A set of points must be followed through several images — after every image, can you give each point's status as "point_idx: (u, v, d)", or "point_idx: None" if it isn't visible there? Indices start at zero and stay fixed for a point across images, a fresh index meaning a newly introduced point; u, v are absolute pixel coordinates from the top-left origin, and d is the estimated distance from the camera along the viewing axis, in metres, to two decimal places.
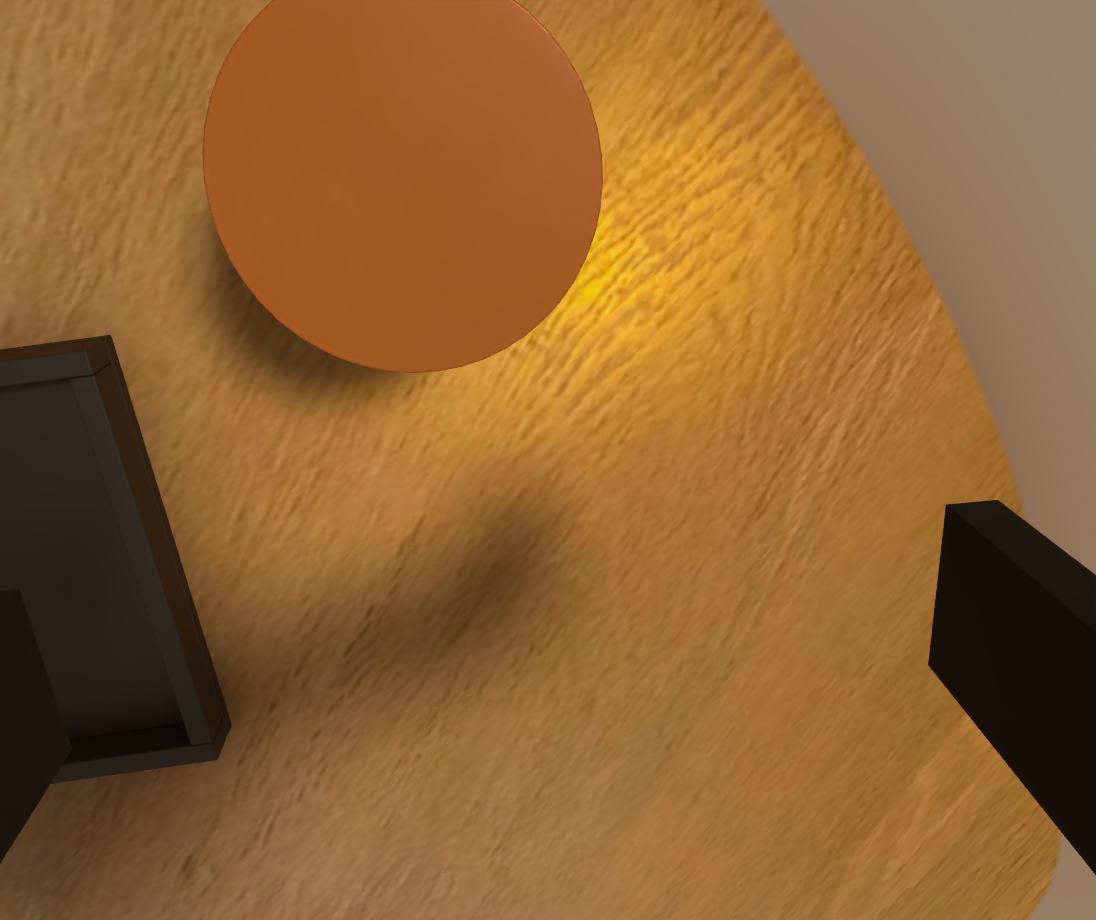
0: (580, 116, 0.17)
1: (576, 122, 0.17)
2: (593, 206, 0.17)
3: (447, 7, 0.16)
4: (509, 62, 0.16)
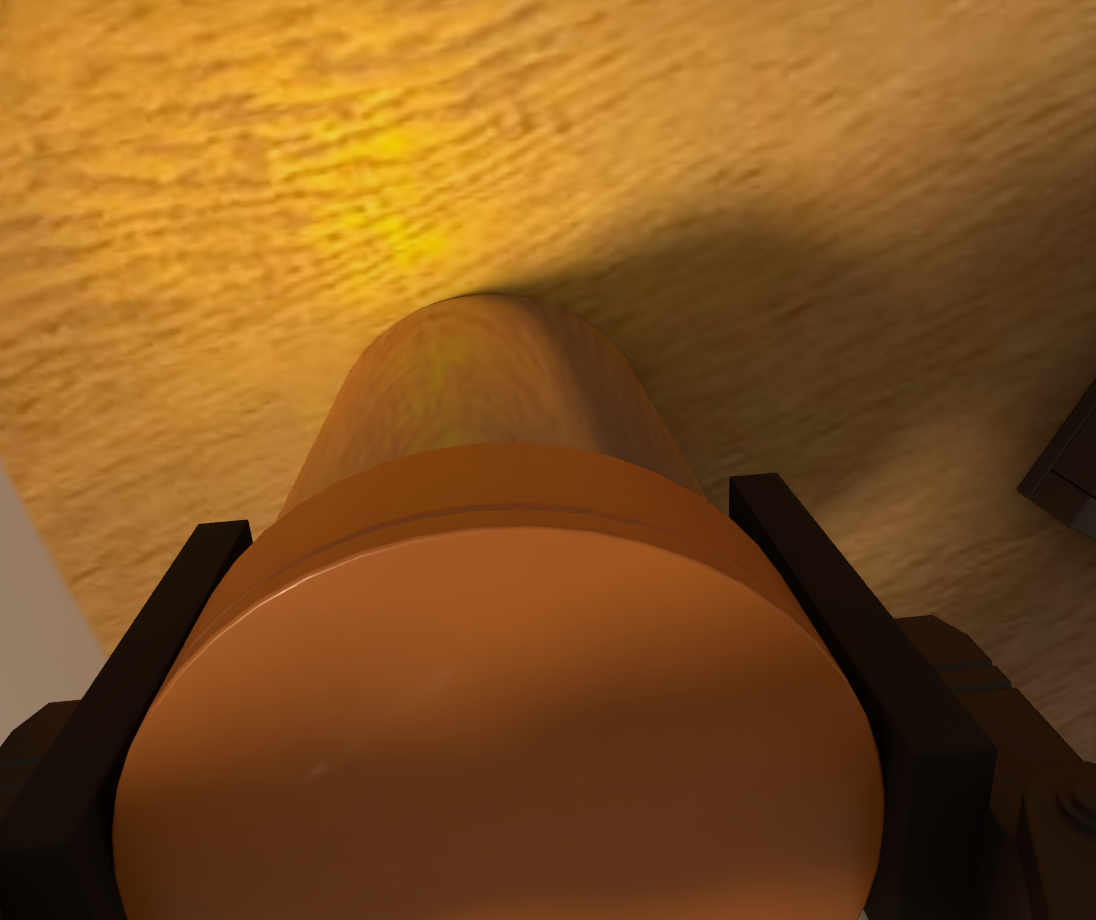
0: (138, 826, 0.08)
1: (152, 819, 0.08)
2: (187, 684, 0.08)
3: None
4: None
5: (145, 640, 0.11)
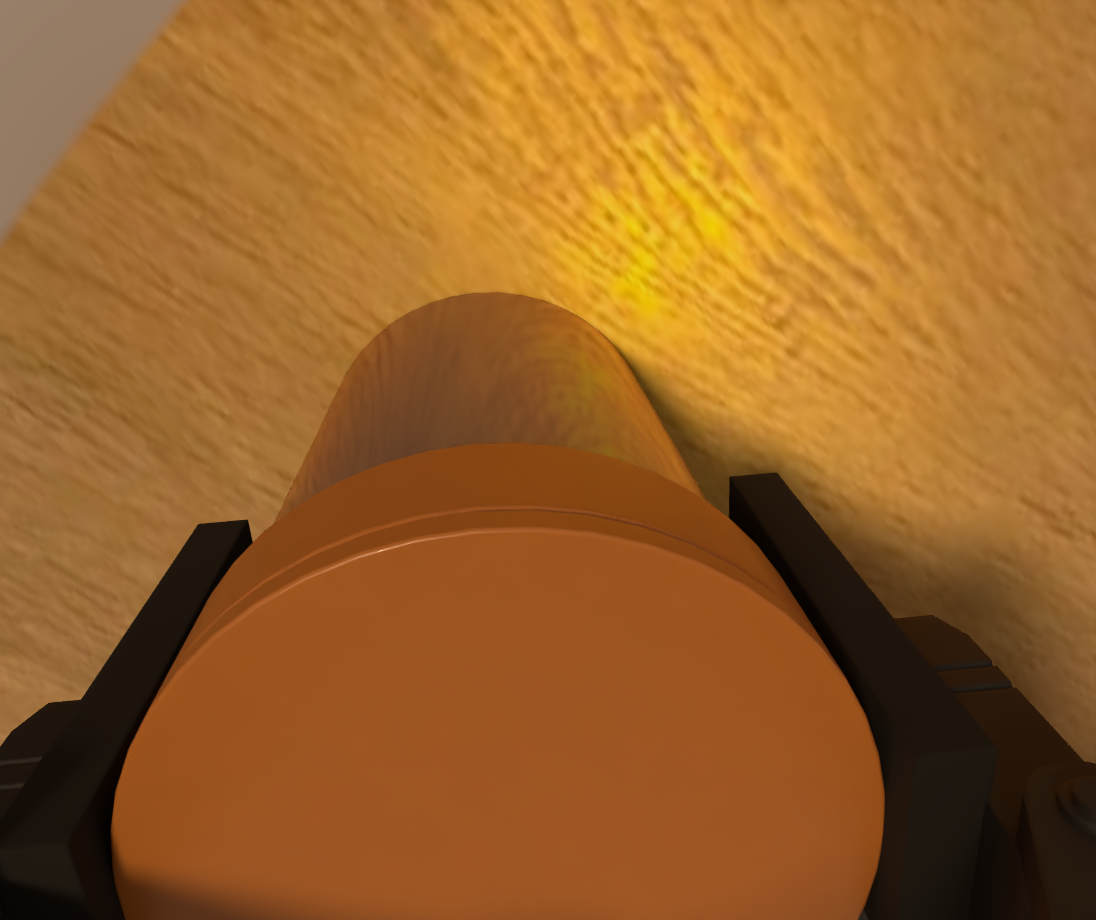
0: (137, 827, 0.08)
1: (151, 820, 0.08)
2: (187, 685, 0.08)
3: None
4: None
5: (144, 640, 0.11)
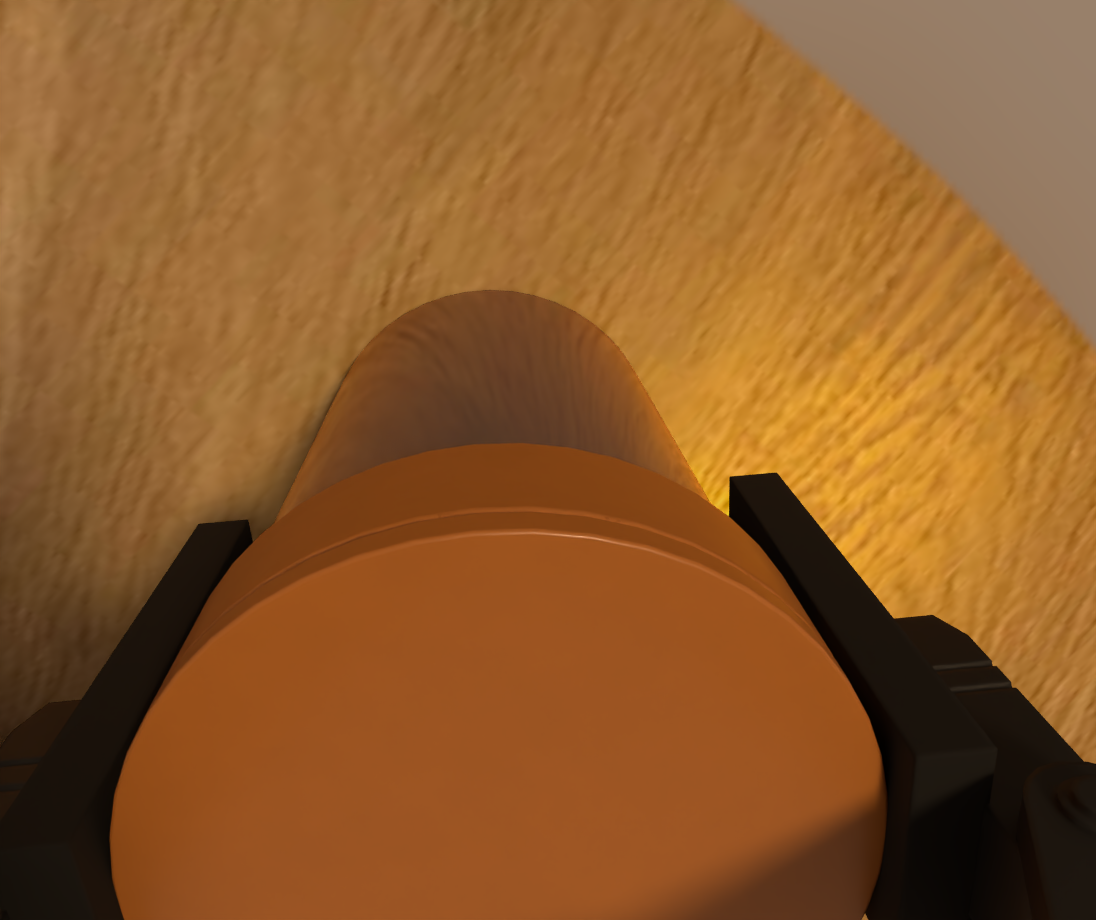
0: (136, 830, 0.08)
1: (150, 823, 0.08)
2: (185, 688, 0.08)
3: None
4: None
5: (145, 640, 0.11)
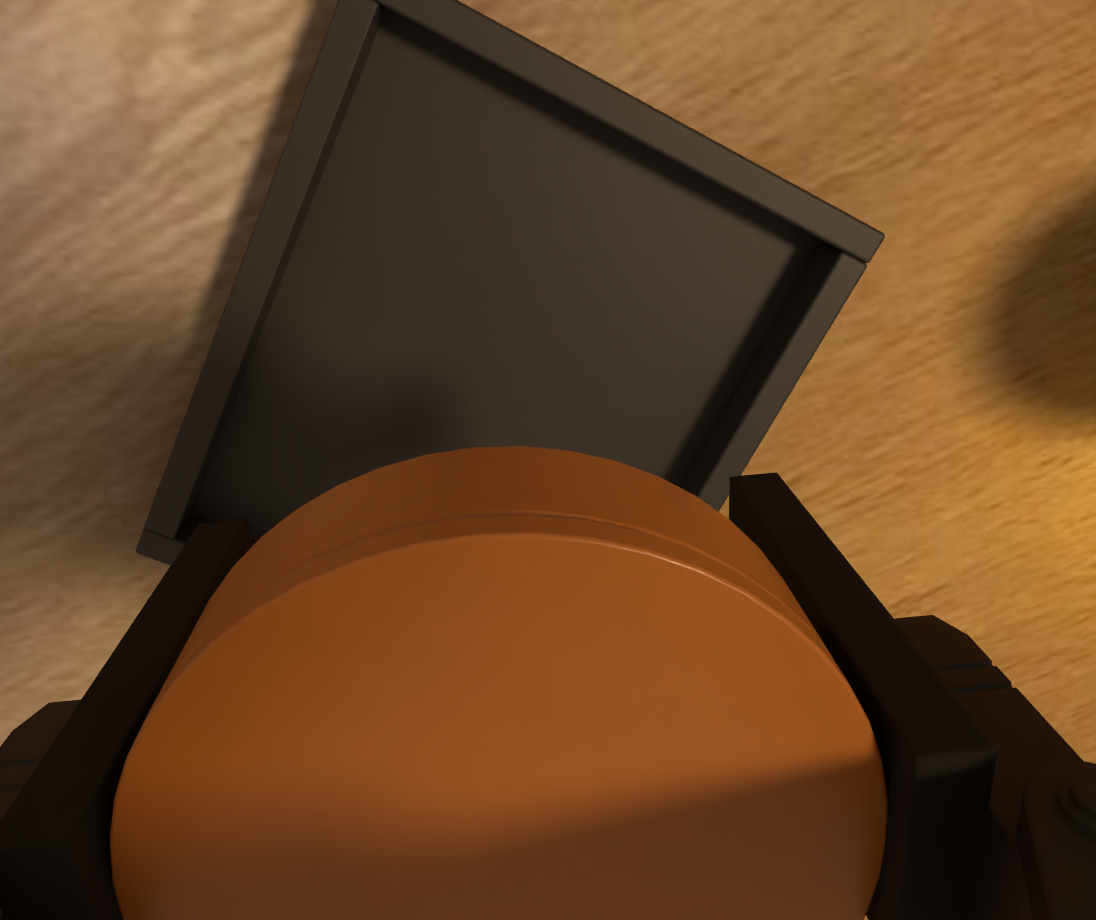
0: (136, 834, 0.08)
1: (150, 826, 0.08)
2: (185, 692, 0.08)
3: None
4: None
5: (145, 640, 0.11)
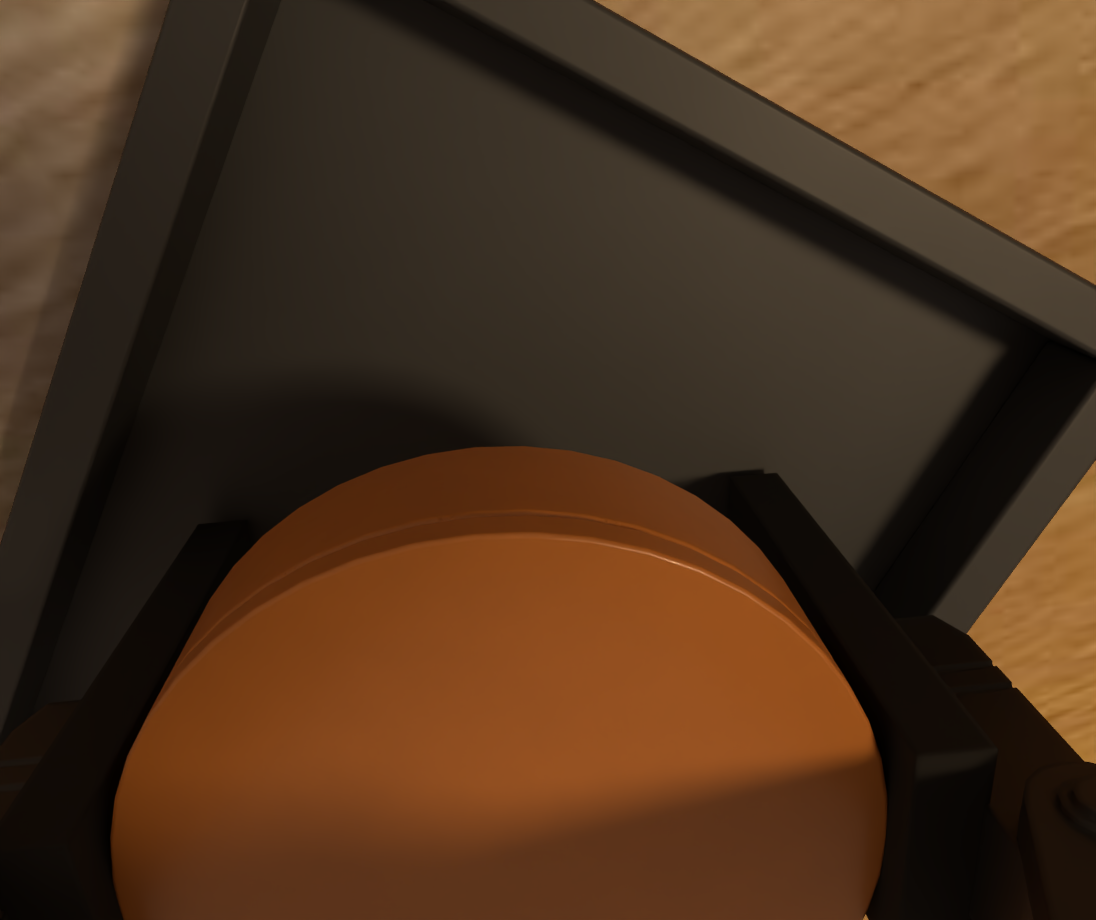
0: (137, 833, 0.08)
1: (150, 826, 0.08)
2: (186, 691, 0.08)
3: None
4: None
5: (144, 640, 0.11)
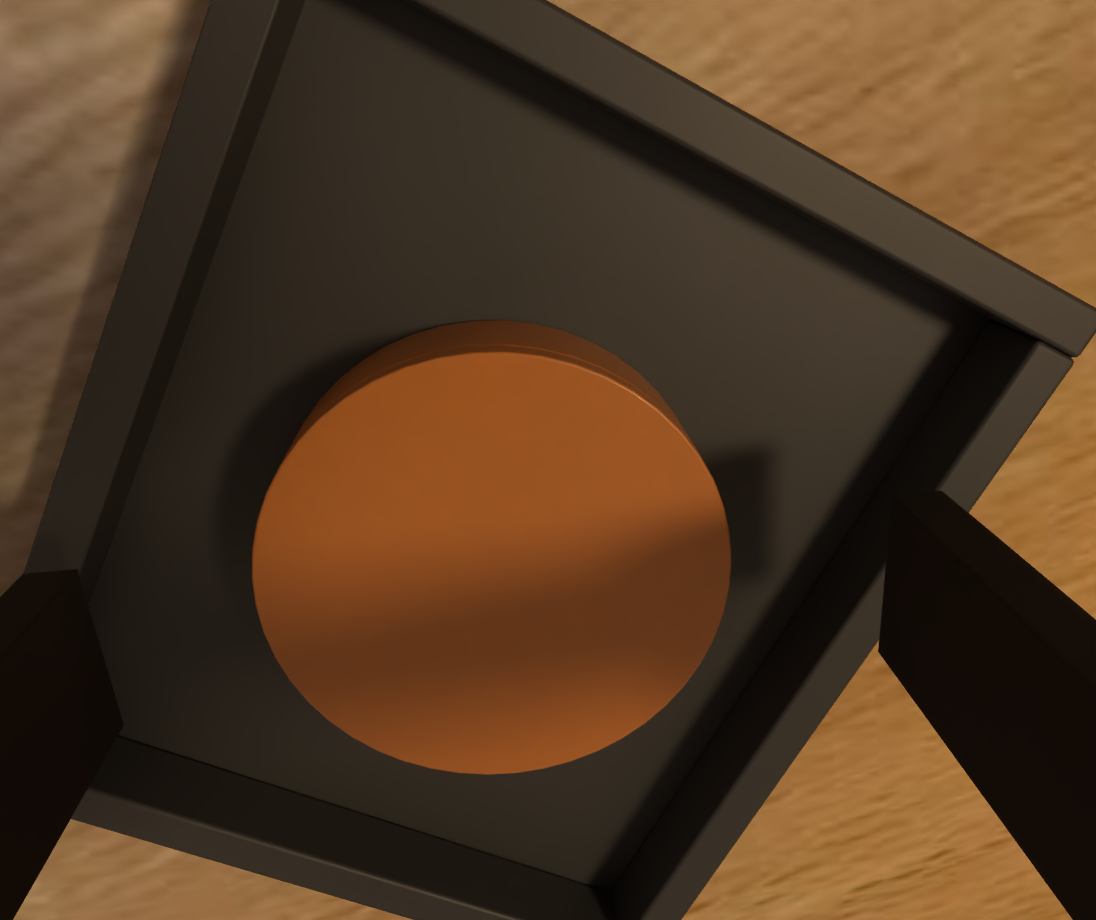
0: (269, 545, 0.14)
1: (277, 540, 0.14)
2: (303, 449, 0.13)
3: (353, 697, 0.15)
4: (319, 627, 0.14)
5: None
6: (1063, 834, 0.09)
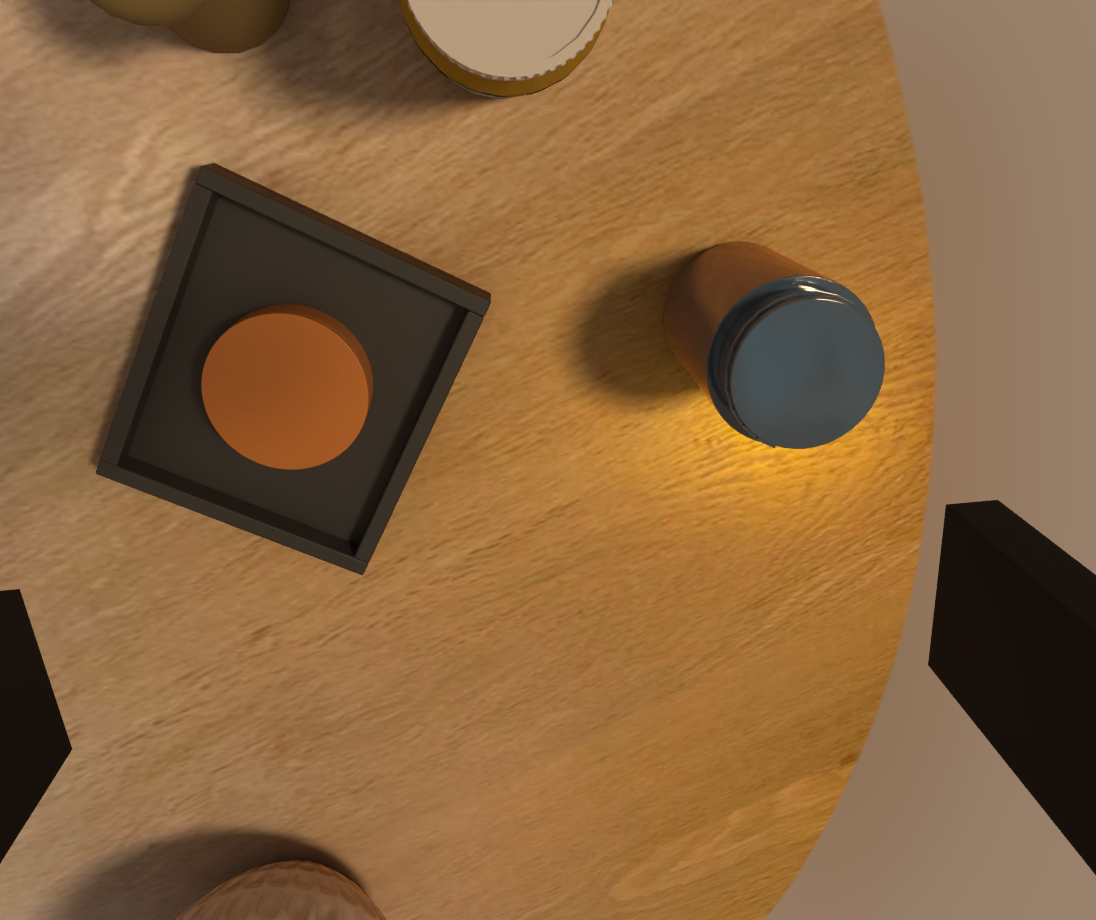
0: (207, 378, 0.41)
1: (209, 377, 0.41)
2: (217, 345, 0.40)
3: (238, 436, 0.42)
4: (225, 409, 0.41)
5: None
6: None
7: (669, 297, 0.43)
